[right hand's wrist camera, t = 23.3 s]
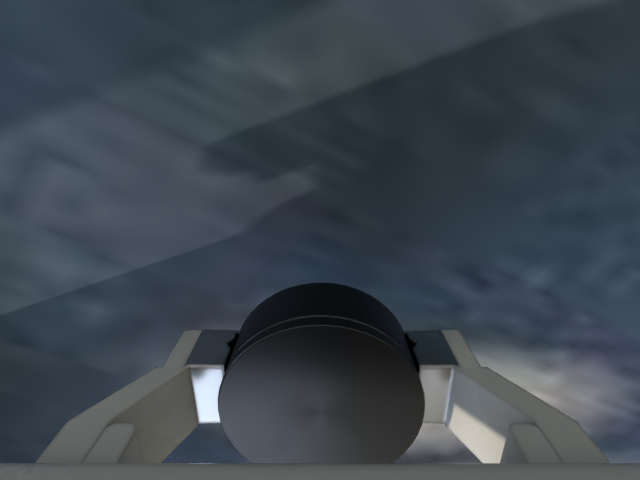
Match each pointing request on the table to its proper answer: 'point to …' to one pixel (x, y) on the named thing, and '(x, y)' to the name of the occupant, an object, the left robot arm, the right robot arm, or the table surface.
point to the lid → (321, 380)
